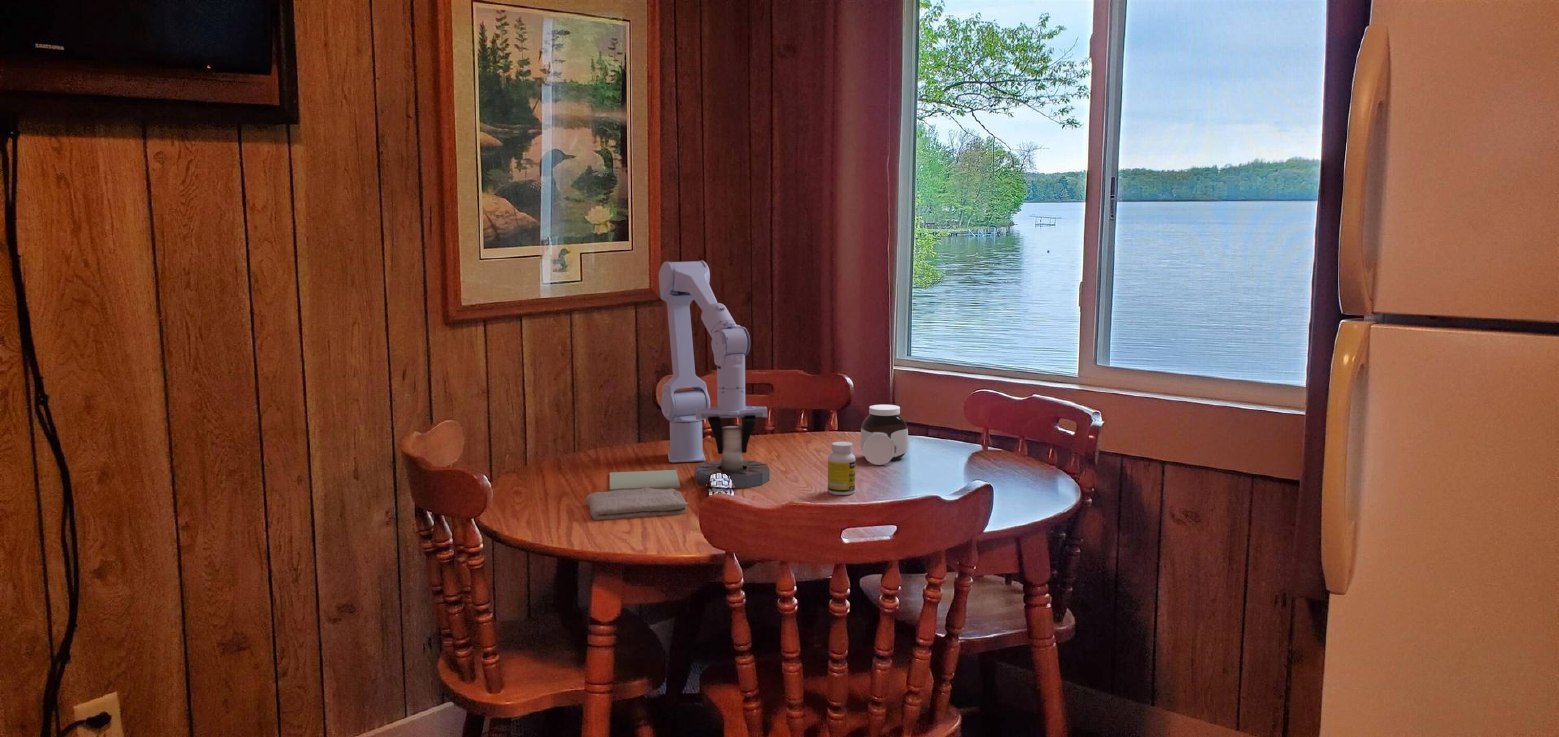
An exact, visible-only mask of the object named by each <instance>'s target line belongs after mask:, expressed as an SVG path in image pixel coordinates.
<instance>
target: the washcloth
mask: <svg viewBox="0 0 1559 737" xmlns="http://www.w3.org/2000/svg"><path fill="white" fill-rule="evenodd" d="M585 503H586V505H587V507H588V509H589V514H590V516H591V517H592V519H593V520H594V521H601V520H603V521H604V520H605V521H606V520H616V519H630V518H641V517H643V518H645V517H655V516H669V515H686V514H687V508H686V506H687V505H689V502H687V501H686V499H685V498H684V497H683V494H682V493H681V491H678V490H676V488H665V489H651V488H649V487H646V488H642V489H635V490H616V491H610V490H609V491H596V492H593V493H590V494H588V495H587V496H586V498H585Z"/></svg>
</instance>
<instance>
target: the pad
mask: <svg viewBox="0 0 1559 737" xmlns="http://www.w3.org/2000/svg"><path fill="white" fill-rule="evenodd" d="M646 487H649V488H651V489H662V490H665V489H671V488H672V489H680V488H681V483H680V478H679V475H678V471H677V469H665V470H664V469H663V470H645V471H644V470H642V471H641V470H640V471H617V472H609V491H616V490H635V489H642V488H646Z"/></svg>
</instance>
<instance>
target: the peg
mask: <svg viewBox="0 0 1559 737" xmlns="http://www.w3.org/2000/svg"><path fill="white" fill-rule="evenodd" d="M721 444H722V454H720V457H721V458H720V460H721V470H722V471H741V470H743V460H744V457H743V456H744V455H743V454H744V453H743V431H742V426H735V425H734V426H733V425H729V426H727V425H726V426H723V427H722V426H721Z"/></svg>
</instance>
